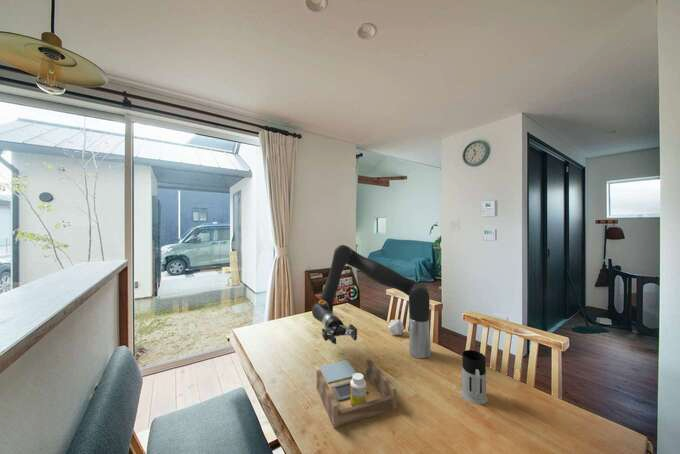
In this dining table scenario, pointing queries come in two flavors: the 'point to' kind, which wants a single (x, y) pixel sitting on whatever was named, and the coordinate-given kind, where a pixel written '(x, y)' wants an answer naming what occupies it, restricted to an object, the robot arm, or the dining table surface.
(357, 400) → the supplement bottle
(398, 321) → the die
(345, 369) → the pad
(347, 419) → the walnut open-topped enclosure
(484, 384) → the glass holder
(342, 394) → the tray
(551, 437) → the dining table surface
